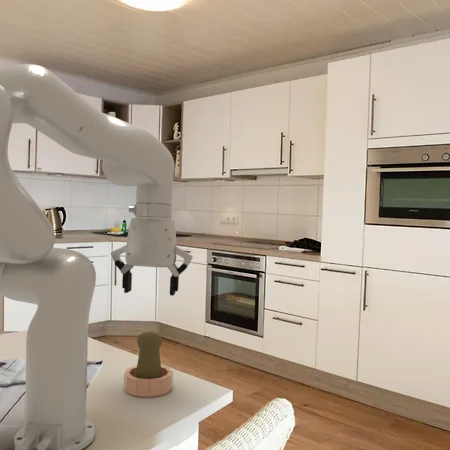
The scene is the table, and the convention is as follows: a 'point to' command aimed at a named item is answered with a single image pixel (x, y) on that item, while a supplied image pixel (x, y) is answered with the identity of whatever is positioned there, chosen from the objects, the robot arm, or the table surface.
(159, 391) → the copper faceted bowl
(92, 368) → the table surface
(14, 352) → the table surface
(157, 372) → the cork
